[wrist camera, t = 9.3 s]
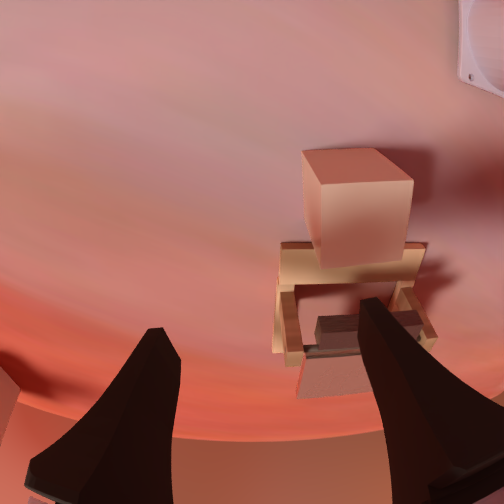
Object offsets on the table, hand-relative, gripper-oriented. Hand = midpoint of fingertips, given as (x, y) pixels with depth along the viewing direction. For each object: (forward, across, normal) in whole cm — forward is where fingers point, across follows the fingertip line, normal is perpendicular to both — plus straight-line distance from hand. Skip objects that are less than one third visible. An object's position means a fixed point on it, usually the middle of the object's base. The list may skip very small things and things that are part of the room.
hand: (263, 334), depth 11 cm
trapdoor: (+5, -6, +8) cm, 11 cm away
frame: (+10, -6, +8) cm, 15 cm away
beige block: (+10, -5, -1) cm, 12 cm away
